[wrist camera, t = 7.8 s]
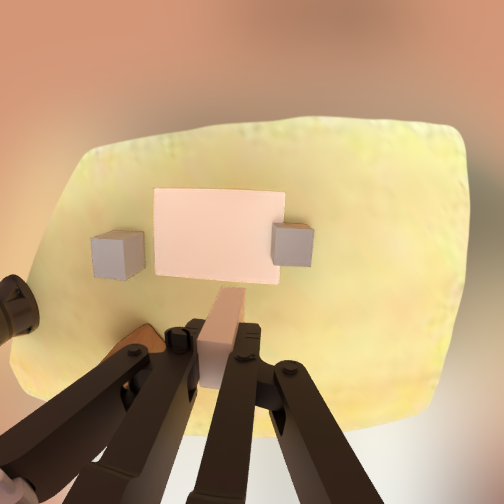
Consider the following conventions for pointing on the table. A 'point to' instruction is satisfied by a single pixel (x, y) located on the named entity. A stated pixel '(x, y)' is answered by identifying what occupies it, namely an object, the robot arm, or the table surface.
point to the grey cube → (291, 244)
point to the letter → (216, 233)
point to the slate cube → (118, 254)
